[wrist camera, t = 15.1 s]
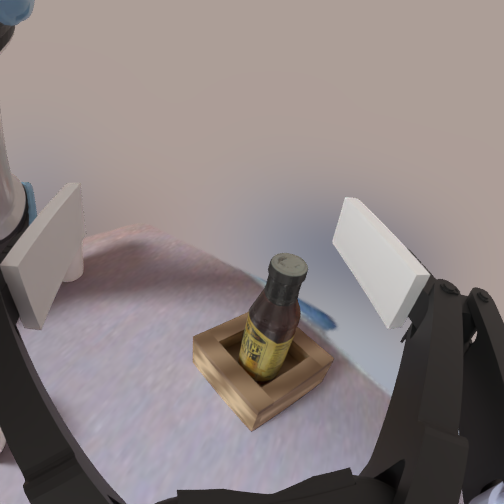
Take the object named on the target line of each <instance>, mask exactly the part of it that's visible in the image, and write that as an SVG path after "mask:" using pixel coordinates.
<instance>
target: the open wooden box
mask: <svg viewBox="0 0 504 504" xmlns="http://www.w3.org/2000/svg"><path fill="white" fill-rule="evenodd" d="M248 313H249V312H247V313H245V314H243V315H241V316H239V317H236V318H234V319H232V320H230V321H227V322H225V323H223V324H221V325H218V326H216V327H214V328H212V329H209V330H207V331H205V332H202V333H200V334H198V335H195V336H193V363H194V364H195V366H196V367H197V368H198V369H199V371H200V372H201V373H202V374H203V376H204V377H205V378H206V379H207V381H208V382H209V383H210V384H211V386H212V387H213V388H214V389H215V390H216V392H217V393H218V394H219V395H220V396H221V398H222V399H223V400H224V401H225V402H226V404H227V405H228V406H229V407H230V408H231V409H232V410H233V412H234V413H235V414H236V415H237V416H238V417H239V418H240V420H241V421H242V422H243V423H244V424H245V425H246V426H247V427H248V428H249V430H250V431H251V432H252V431H253V430H255V429H256V428H258V427H259V426H261V425H262V424H264V423H265V422H267V421H268V420H270V419H271V418H273V417H274V416H276V415H277V414H279V413H280V412H281V411H283V410H284V409H286V408H287V407H289V406H290V405H291V404H293V403H294V402H296V401H297V400H298V399H300V398H301V397H302V396H304V395H305V394H306V393H308V392H309V391H310V390H312V389H313V388H314V387H316V386H317V385H318V384H319V383H321V382H322V380H323V378H324V377H325V375H326V373H327V371H328V369H329V367H330V366H331V364H332V362H333V360H334V358H333V357H332V356H331V355H329V354H328V353H327V352H326V351H325V350H324V349H322V348H321V347H320V346H319V345H318V344H317V343H315V342H314V341H313V340H312V339H311V338H310V337H308V336H307V335H306V334H305V333H304V332H303V331H301V330H300V329H299V328H298V327H297V328H296V332H295V335H294V337H293V340H292V342H291V345H290V347H289V350H288V352H287V355H286V357H285V359H284V362H283V364H282V367H281V369H280V371H279V373H278V375H277V376H276V378H275V379H273V380H272V381H271V382H269V383H267V384H262V385H260V384H257V383H256V382H255V381H254V380H253V379H252V378H251V377H250V376H249V375H248V374H247V373H246V371H245V370H244V369H243V368H242V367H241V366H240V365H239V364H238V358H239V353H240V349H241V344H242V339H243V335H244V330H245V326H246V322H247V317H248Z"/></svg>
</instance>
